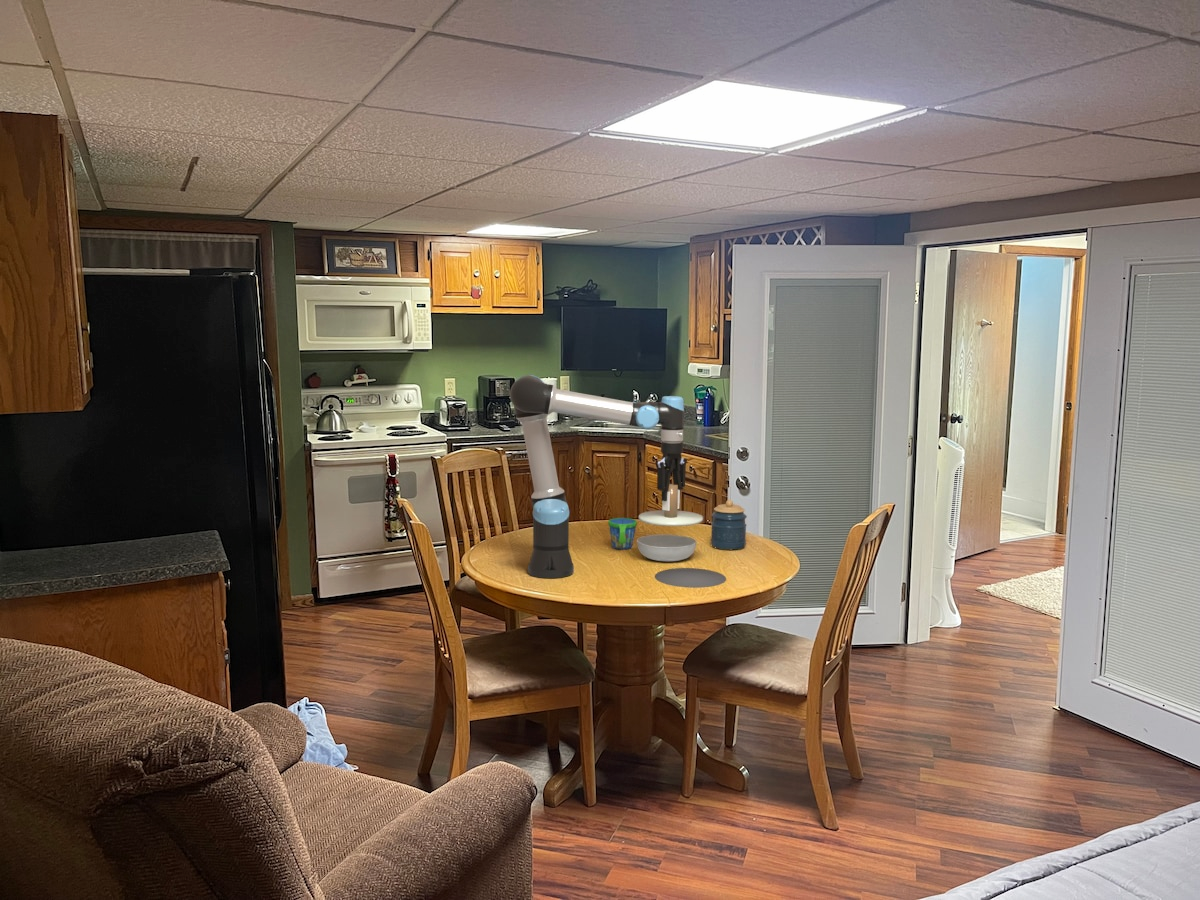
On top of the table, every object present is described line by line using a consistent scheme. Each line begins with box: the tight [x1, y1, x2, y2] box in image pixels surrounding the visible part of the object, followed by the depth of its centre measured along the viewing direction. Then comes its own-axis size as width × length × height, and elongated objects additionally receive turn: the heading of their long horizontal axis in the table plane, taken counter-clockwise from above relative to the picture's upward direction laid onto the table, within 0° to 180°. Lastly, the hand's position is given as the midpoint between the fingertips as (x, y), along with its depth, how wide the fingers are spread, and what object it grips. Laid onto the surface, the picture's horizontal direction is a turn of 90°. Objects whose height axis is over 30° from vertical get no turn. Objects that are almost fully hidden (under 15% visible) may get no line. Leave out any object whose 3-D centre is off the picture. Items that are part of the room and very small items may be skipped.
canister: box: [710, 499, 748, 550], centre depth 328 cm, size 13×13×18 cm
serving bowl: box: [636, 534, 697, 563], centre depth 309 cm, size 21×21×7 cm
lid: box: [638, 483, 704, 527], centre depth 303 cm, size 22×22×12 cm
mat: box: [654, 567, 727, 589], centre depth 284 cm, size 23×23×1 cm
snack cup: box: [607, 517, 638, 550], centre depth 325 cm, size 16×10×10 cm
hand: (670, 508), depth 303 cm, fingers closed on lid, 4 cm apart
